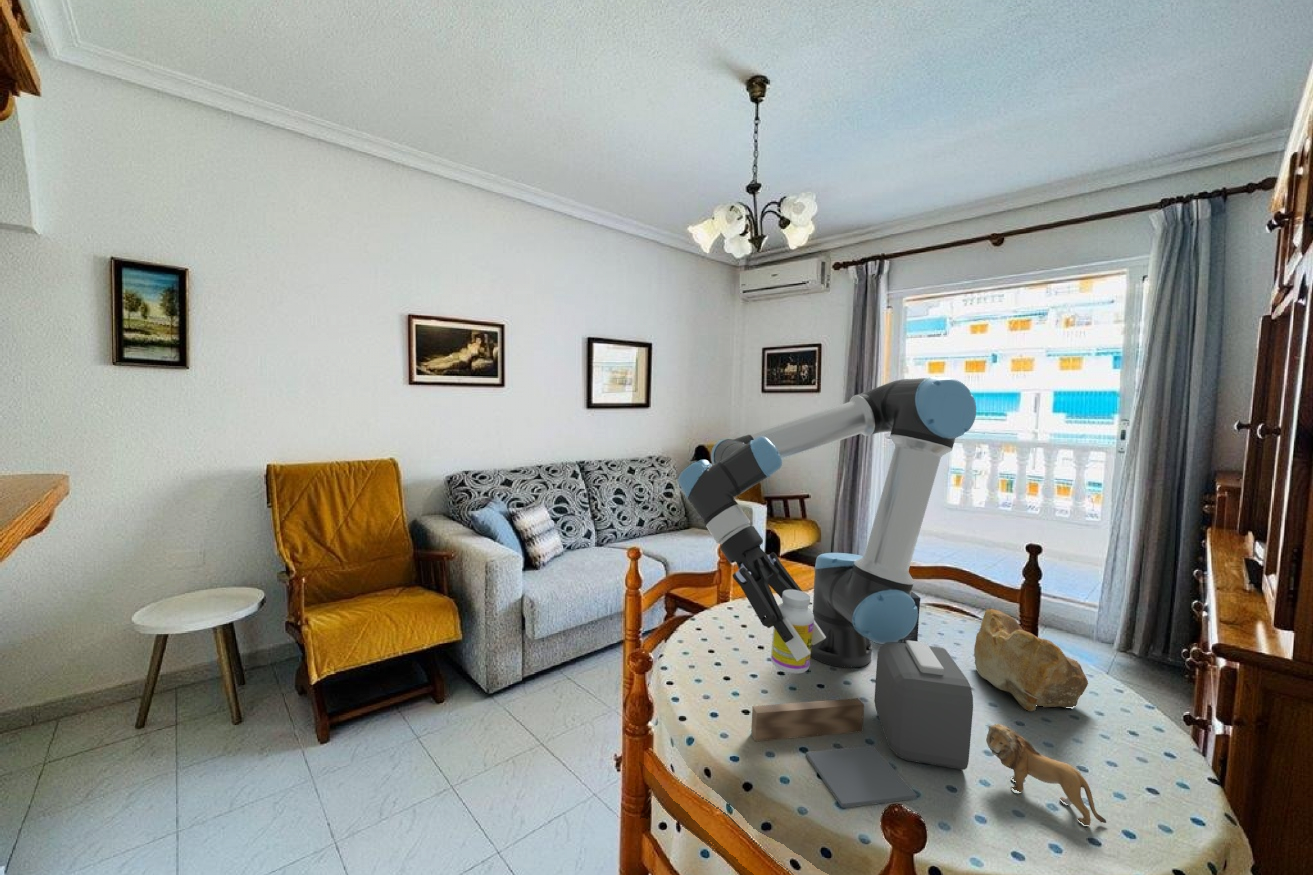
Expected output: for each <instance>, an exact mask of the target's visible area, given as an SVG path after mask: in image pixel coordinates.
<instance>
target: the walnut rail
mask: <svg viewBox="0 0 1313 875" xmlns="http://www.w3.org/2000/svg"><path fill="white" fill-rule="evenodd" d="M864 712H865V703H863V701H862V700H861V699H859V698H858V697H854V698H853V697H851V698H841V699H828V700H815V701H804V702H802V701H800V702H791V703H790V702H789V703H779V704H778V703H777V704H776V703H775V704H766V705H765V704H764V705H753V706H752V712H751V726H750V727H751V730H750V735H751V736H752V739H754V742H763V741H774V740H784V739H785V740H786V739H797V738H807V737H808V738H810V737H819V736H828V735H831V736H832V735H840V734H841V735H842V734H851V733H862V732H863V728H864V727H863V726H864V716H865V715H864Z"/></svg>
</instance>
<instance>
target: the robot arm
mask: <svg viewBox="0 0 1313 875" xmlns="http://www.w3.org/2000/svg"><path fill="white" fill-rule="evenodd" d="M976 404H977V403H976V400H975V397H974V395H973V394H972V393H971V391H970V389H969V388H968V386H967V385H965V383H963V382H961V381H960V380H959V379H958V380H957V379H956V378H952V377H940V376H931V377H924V378H923V377H921V378H903V379H897V380H893V381H890V382H887V383H885V384H882V385H879V386H877V387H874V388H872V389H869V390H867V391H866V390H865V391H864V392H861V393H858V394H855V395H853V396H851V398H850V400H849V401H848V402H845V403H841V404H838V405H836V406H832V407H830V408H826V409H823V410H820V411H817V412H814V413H810V414H807V415H804V416H801V417H799V418H795V419H793V420H789V421H786V422H783V423H780V424H777V425H774V426H771V427H767V428H764V429H761V430H758V431H755V432H752V433H749V434H746V435H742V436H739V437H736V438H734V439H733V438H726V439H721V440H719V441H718V442H716V443H715V444H714V445H713V447H712V448H711V452H710V461H711V463H710V461H709V460H707V459H700V460H698V461H696V462H693V463H691V464H690V465H688V466H687V467H686V468H684V469H683V471H681V473H680V474H679V476H678V479H677V480H678V481H677V482H678V485H679V488H681V491H682V493H683V494H684V496H685V497H686V498H687V501H688V502H689V503H690V505H691V507H692V508H693V510H694V511H695V512H696V514H697V515H698V517H699V518H700V520H701V522H702V523H703V524H704V525H705V526H704V527H706V528H707V530H708V531H709V533H710V534H709V535H711V537H712V538H713V540H714V541H715V542H716V543H717V545H719V544H720V550H721V552H722V554H723V556H724V557H725V558H726V560H727V561H728V563H730V564H734V563H735V564H736V565H737V568H738V570H737V571H736V572H735V573H733V574H732V578H733V579H734V581H735V582H736V583H737V584H738V585H739V587H740V588H741V589H742V592H743V594H744V595H745V597H746V598H747V600H748V602H749V604H750V605H751V607H752V609H753V611H754V613H755V614H756V616H757V617H758V619H759V621H760V623H761V625H763V626H764V627H766V628H768V629H770V628H772V627H773V629H774V628H775V629H776V631H777V632H778V634H779V635H780V637H781V638H782V640H783V641H784V642H785V644H786V645H787V647H788V648H789V650H790V651H791V653H792V654H793V656H794V657H795V659H796V661H799V660H800V659H802V658H804V657H806V656H808V655H809V654H810V653H811V655H810V658H812V659H813V660H814V659H815V660H816V661H819V663H820V662H821V663H823V664H826V665H830V666H832V667H833V666H834V667H840V668H849V669H850V668H861V667H864V666H867V665H868V664H870V662H871V661H872V656H873V654H872V653H873V648H872V644H871V642H873V643H876V644H879V645H883V644H884V643H886V642H898V640H900V639H903V638H905V637H906V636H907V635H908V634H909V633H910V632H911V631H912V630H913V628H914V627H915V624H916V622H917V618H918V610H917V607H916V605H915V602H914V600H913V599H912V598H911V596H910V595H911V591H912V590H913V587H914V583H915V582H914V581H915V580H914V579H913V577H912V576H911V574H910V572H909V570H910V566H911V562H912V560H913V556H914V553H915V550H916V549H915V548H916V546H917V542H918V538H919V534H920V531H921V529H922V524H923V522H924V518H925V516H926V511H927V508H928V504H929V500H930V498H931V493H932V489H933V486H934V483H935V479H936V477H937V472H938V469H939V466H940V462H941V458H942V457H943V456H944V455H946V454H948V453H950V452H952V451H953V448H954V446H955V441H956V439H957V438H959V437H962V436H963V435H964V434H965V433H967V432H969V430H971V429H972V427H973V425H974V423H975V420H976V416H977V405H976ZM887 432H888V433H889V432H890V434H889V437H890V439H891V440H892V442H893V444H894V451H893V453H892V455H891V456H892V458H891V460H890V464H889V467H888V471H887V473H886V478H885V482H884V483H883V484H884V485H883V488H882V492H881V496H880V499H879V503H878V506H877V509H876V513H875V517H874V520H873V524H872V526H871V527H872V528H871V530H870V534H869V537H868V541H867V545H866V549H865V551H864V554H863V555H861V554H855V553H844V552H826V553H821V554H819V555H818V556H817V557H816V558H815V559H816V560H815V567H814V578H813V579H814V580H813V581H814V582H813V601H812V603H813V604H812V613H813V615H814V624H813V634H812V644H811V652H810V651H809V649H808V648H807V646H806V645H805V643H804V642H803V640H802V639H801V637H800V636H799V634H798V633H797V631H796V630H795V628H794V627H793V625H792V624H791V622H790V621H789V619H788V618H785V619H783V615H782V613H781V611H780V609H779V607H778V603H777V600H776V598H775V595H774V594H773V592H772V590H773V591H774V592H775V593H776V594H777V595H778V596H779V597H780V598H781V599H782V593H783V591H785V590H799V591H802V592H804V591H803V590H802V588H800V586H799V585H798V583H797V582H796V581H795V579H794V578H793V577H792V576H791V574H790V573H789V572H788V570H787V569H786V568H785V567H784V565H783V564H782V562H781V561H780V559H779V557H778V555H777V554H776V552H774V551H773V552H771V553H769V554H767V552H765V551H764V550H763V549H762V547H761V546H762V545H763V543H764V540H763V538H762V536H761V535H760V533H759V532H758V530H757V529H756V527H755V526H753V525H751V520H750V519H749V517H748V516H747V514H746V513H745V512H744V510H743V508H742V507H741V506H740V505H739V503H738V501H736V499H735V498H737V497H738V496H740V495H741V494H743V493H745V492H746V491H748V490H749V489H751V488H753V487H755V486H756V485H758V484H759V483H761V482H762V481H764V480H766V479H767V478H770V477H771V476H772V475H773V474H775V473H776V472H778V471H779V470H780V469H781V468H782V466H783V460H784V459H787V458H789V457H790V458H791V457H793V456H796V455H799V454H801V453H802V454H803V453H804V452H805V453H806V452H809V451H812V450H814V449H818V448H821V447H824V446H826V445H830V444H834V443H836V442H839V441H842V440H845V439H849V438H852V437H854V436H857V435H858V436H859V435H863V436H865V437H869V436H872V435H874V434H875V435H876V434H881V433H887ZM912 592H913V591H912Z"/></svg>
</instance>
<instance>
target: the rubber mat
mask: <svg viewBox="0 0 1313 875" xmlns="http://www.w3.org/2000/svg"><path fill="white" fill-rule="evenodd" d="M805 756H806V758H807V760H809V762H810V763H811V766H812V767H813V768H814V769H815V771H816V773H818V775H819V776H820V778H821V780H822V781H823V783H824V784H825V785H826V787H827V789H828V790H829V791H830V793H831V794H832V795H833V797H834V798H835V800H836V801H837V803H838V805H839V806H840V807H841V808H842V809H843V808H852V807H853V808H854V807H861V806H870V805H877V804H887V803H893V802H901V801H902V800H903V801H910V800H917V798H918V797H917V796H918V795H917V793H916V792H915V791H914V790H913V788H911V787H910V786H909V785H908V783H907V782H906V781H905V780H904V779H903V778H902V776H900V774H899V773H898V772H897V771H896V770H895V769H894V768H893V766H892V765H891V764H889V762H888V761H887V760H886V759H885V757H883V756H882V754H881V753H880V752H879V751H878V750H877V749H876V748H875V746H874V745H866V746H857V747H855V746H854V747H844V748H835V749H826V750H825V749H824V750H814V751H813V750H812V751H806V752H805Z"/></svg>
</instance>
